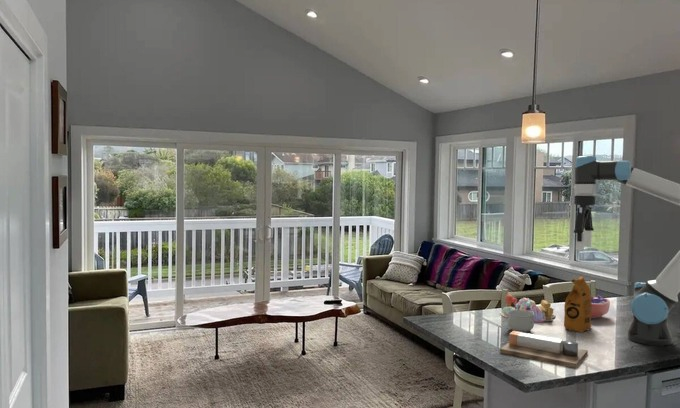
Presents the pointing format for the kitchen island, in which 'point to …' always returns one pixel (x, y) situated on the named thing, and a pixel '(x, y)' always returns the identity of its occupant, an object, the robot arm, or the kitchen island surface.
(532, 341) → the tongs arm
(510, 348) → the board
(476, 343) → the kitchen island surface
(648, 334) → the robot arm
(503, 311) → the candy landscape model
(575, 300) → the coffee package
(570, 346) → the tongs fixed
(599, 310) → the cell model
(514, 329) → the teacup
